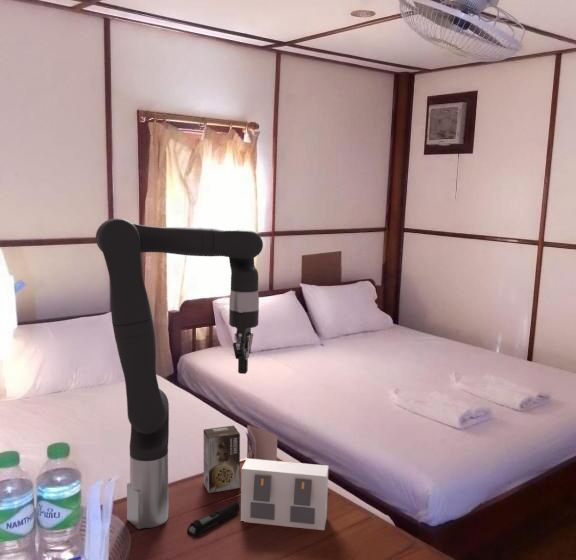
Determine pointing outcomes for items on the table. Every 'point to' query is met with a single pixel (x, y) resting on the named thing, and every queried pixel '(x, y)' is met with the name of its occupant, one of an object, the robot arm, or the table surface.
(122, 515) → the table surface
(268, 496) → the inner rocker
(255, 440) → the greeting card
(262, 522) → the white switch box
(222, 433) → the coffee box
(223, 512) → the electric trimmer
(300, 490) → the outer rocker
